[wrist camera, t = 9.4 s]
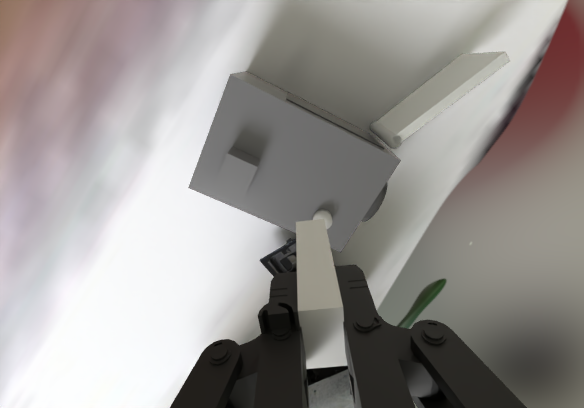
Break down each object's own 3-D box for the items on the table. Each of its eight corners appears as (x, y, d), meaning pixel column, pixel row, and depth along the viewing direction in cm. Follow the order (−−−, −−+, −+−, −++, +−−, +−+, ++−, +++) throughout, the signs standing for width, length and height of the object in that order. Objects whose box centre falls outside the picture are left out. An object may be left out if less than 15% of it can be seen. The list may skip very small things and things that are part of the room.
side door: (367, 125, 38) (384, 140, 31) (460, 52, 35) (504, 49, 28) (376, 138, 39) (395, 155, 32) (469, 67, 36) (513, 68, 28)
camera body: (340, 217, 44) (356, 270, 33) (211, 159, 41) (180, 196, 30) (387, 142, 40) (424, 173, 29) (246, 70, 36) (225, 73, 25)
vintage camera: (312, 216, 45) (317, 316, 27) (364, 289, 50) (398, 416, 31) (259, 247, 47) (230, 358, 29) (313, 313, 52) (317, 444, 34)
